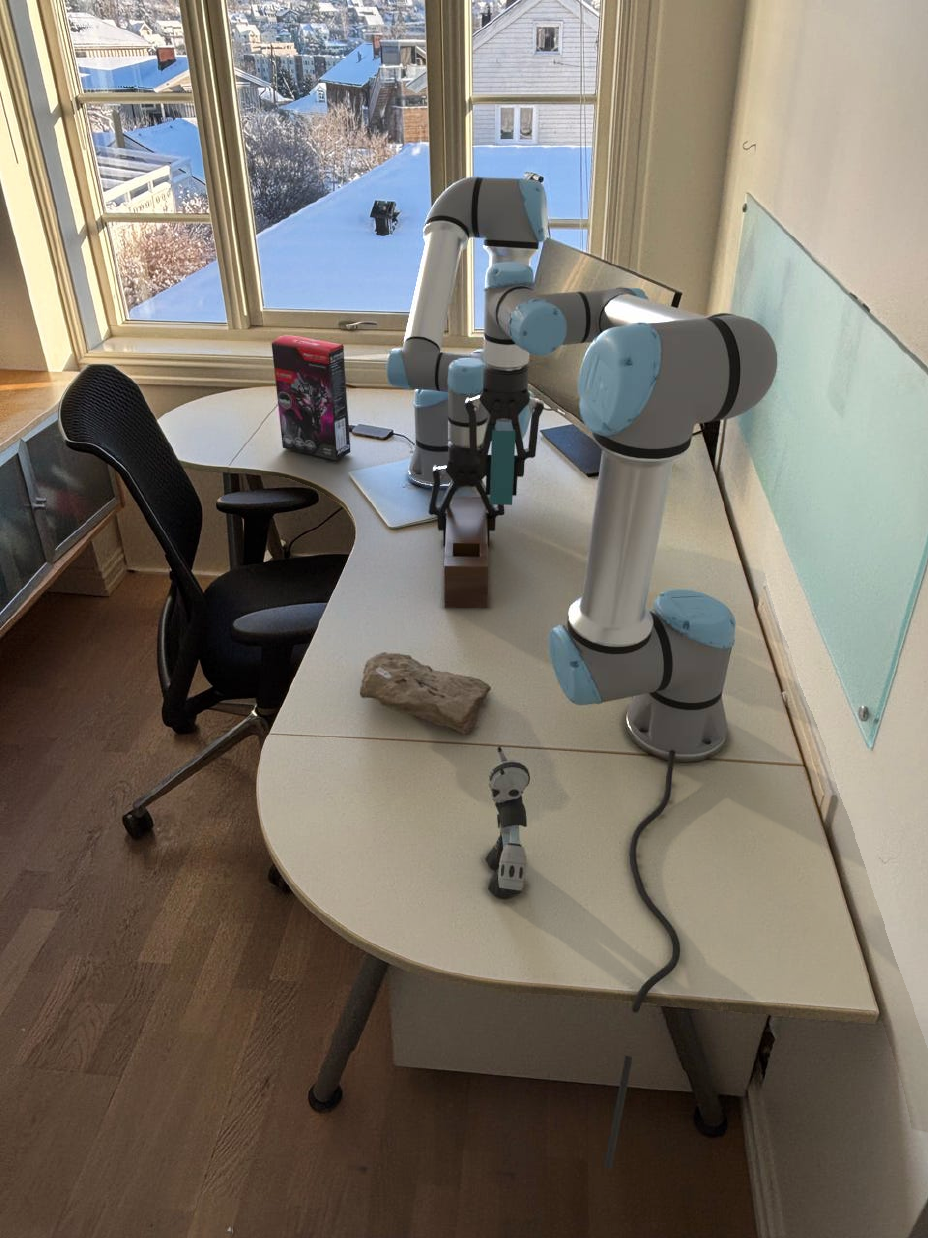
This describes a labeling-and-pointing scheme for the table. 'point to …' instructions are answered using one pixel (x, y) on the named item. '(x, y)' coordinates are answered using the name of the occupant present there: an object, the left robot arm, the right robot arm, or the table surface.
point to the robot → (508, 827)
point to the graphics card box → (312, 396)
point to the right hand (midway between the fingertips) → (501, 491)
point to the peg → (502, 464)
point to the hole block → (466, 554)
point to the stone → (424, 691)
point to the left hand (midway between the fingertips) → (466, 543)
